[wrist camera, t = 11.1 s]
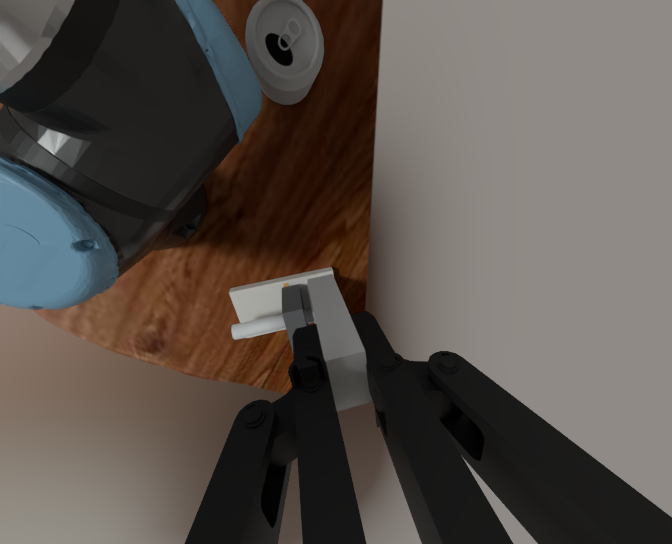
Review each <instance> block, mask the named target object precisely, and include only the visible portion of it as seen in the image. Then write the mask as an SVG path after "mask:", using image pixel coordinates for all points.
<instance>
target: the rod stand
mask: <svg viewBox="0 0 672 544" xmlns="http://www.w3.org/2000/svg"><path fill="white" fill-rule="evenodd" d="M329 274H333V270H332V267H329V268H324V269H319V270H314V271H310V272H305V273H300V274H296V275H291V276H286V277H281V278H277V279H272V280H267V281H263V282H258V283H253V284H248V285H244V286H239V287H234V288H230V291H229V294H230V297H231V299H232V302H233V305H234V307H235V310H236V313H237V315H238V318H239V321H240V323H239V324H235V325H232V328H231V331H232V336H233V338H234V340H236V339H241V338H245V337H246V338H250V337H254V336H259V335H263V334H267V333H271V332H276V331H280V330H284V329H286V326H285V322H284V319H283V315H282V288H283V287H288V286H293V285H297V284H299V287H300V291H301V296H302V300H303V304H304V315H305V319H306V323H308V324H310V323H314V322H315V324H316V319H315V315H314V310H313V305H312V301H311V296H310V291H309V287H308V282H307V279H311V278H315V277H320V276H325V275H329ZM333 277H334V274H333ZM336 284H337V283H336ZM339 291H340V290H339ZM342 298H343V297H342Z"/></svg>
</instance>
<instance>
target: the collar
mask: <svg viewBox="0 0 672 544" xmlns="http://www.w3.org/2000/svg"><path fill="white" fill-rule="evenodd" d="M282 315H283V319H284V322H285V326H286V330H287V333H288V337H289V340H290V344H291V347H292V351H293V340H292V336H293V334H294V332H295V330H296V328H300V327H305V326H308V323H306V319H305V315H304V304H303V300H302V296H301V291H300V287H299V284H297V285H293V286H288V287H283V288H282ZM293 353H294V352H293Z"/></svg>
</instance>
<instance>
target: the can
mask: <svg viewBox="0 0 672 544" xmlns="http://www.w3.org/2000/svg"><path fill="white" fill-rule="evenodd" d="M245 38H246V45H247V52H248V55H249V58H250V61H251V64H252V67H253V69H254V71H255V73H256V76H257V78H258V81H259V84H260V87H261V89H262V91H263V92H264V93H265V95H266V96H267V97H269V98H270V99H271V100H273V101H274V102H276V103H279V104H282V105H293V104H295V103H298V102H300V101H301V100H302V99H303V98H304V97H305V96H307V94H308V92H309V90H310V88H311V86H312V84H313V82H314V80H315V78H316V76H317V74H318V72H319V70H320V68H321V65H322V61H323V56H324V38H323V35H322V31H321V28H320V24H319V22H318V20H317V19H316V17H315V15H314V13H313V12H312V10H311V9H310V8H309V7H308V6H307V5H306V4H305V3H304V2H303V1H302V0H259V1H258V2H257V3H256V4H255V5H254V6H253V8H252V10H251V12H250V15H249V17H248V19H247V25H246V32H245Z"/></svg>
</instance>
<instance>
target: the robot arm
mask: <svg viewBox="0 0 672 544" xmlns="http://www.w3.org/2000/svg"><path fill="white" fill-rule="evenodd" d="M0 103H2V104H4V105H3V107H2V108H1V110H0V304H3V305H7V306H12V307H17V308H22V309H34V310H38V309H42V308H44V309H63V308H68V307H71V306H75V305H78V304H80V303H83V302H85V301H87V300H88V299H90V298H92V297H93V296H95V295H96V294H99V293H102V292H104V291H105V290H108V289H109V288H110V287H111V286H112V285H113V284H114V283H115V281H116V279H117V278H119V277H120V276H121V275H122V274H124V273H125V272H126V271H127V270H129V269H130V268H131V267H132V266H134V265H135V264H136V263H137V262H139V261H140V260H141V259H143V258H144V257H145V256H146V255H148V254H149V253H150V252H151V251H153V250H163V249H168V248H172V247H175V246H177V245H180V244H182V243H183V242H185V241H186V240H188V239H189V238H190V237H191V236H192V235H193V234H194V233H195V232H196V231H197V230H198V229H199V228H200V226H201V225H202V223H203V221H204V218H205V215H206V210H207V197H206V192H205V188H204V185H203V183H204V182H205V180H206V179H207V178H208V177H209V176H210V175H211V173H212V172H213V171H214V170H215V169H216V167H217V166H218V165H219V164H220V163H221V162H222V160H223V159H224V158H225V157H226V156H227V154H228V153H229V152H230V151H231V150H232V149H233V147H234V146H235V145H238V144H240V143H241V142H242V141H241V140H242V139H243V134H244V133H245V132H246V130H247V129H248V128H249V126H250V125H251V124H252V123H253V121H254V120H255V119H256V117H257V116H258V115H259V113H260V110H261V104H262V91H261V87H260V84H259V81H258V78H257V76H256V73H255V71H254V69H253V67H252V65H251V63H250V61H249V59H248V57H247V56H246V54H245V52H244V50H243V48H242V47H241V45H240V43H239V41H238V40H237V38H236V36H235V35H234V33H233V32H232V30H231V28H230V27H229V25H228V23H227V22H226V20H225V19H224V17H223V16H222V14H221V12H220V11H219V9H218V8H217V7H216V5H215V4H214V2H213V1H212V0H0ZM307 282H308V287H309V291H310V296H311V301H312V305H313V310H314V315H315V319H316V324H313V325H309V326H305V327H300V328H296V330H295V332H294V334H293V336H292V340H293V352H294V353H293V354H294V361H293V362H292V363H291V365H290V366H289V371H288V373H289V376H290V380H291V383H292V388H291V389H290V391H289V392H288V393H287V394H286V395H284V396H283V397H281V398H280V399H278V400H276V401H275V402H273V403H270V402H269V401H267V400H257V401H253V402H251V403H249V404H248V405H246V406H245V407H244V408H243V409H242V410H240V412H239V413H238V415H237V417H236V419H235V421H234V423H233V426H232V428H231V430H230V433H229V435H228V438H227V441H226V443H225V445H224V448H223V450H222V453H221V455H220V458H219V460H218V463H217V465H216V468H215V470H214V472H213V475H212V478H211V480H210V482H209V485H208V487H207V490H206V492H205V495H204V497H203V500H202V502H201V505H200V507H199V510H198V512H197V515H196V517H195V520H194V522H193V524H192V527H191V529H190V532H189V534H188V537H187V539H186V542H185V544H278V539H279V533H280V527H281V521H282V516H283V510H284V504H285V498H286V493H287V486H288V481H289V476H290V470H291V464H292V461H293V460H294V459H296V458H297V457H298V472H299V487H300V504H301V520H302V535H303V544H366V541H365V536H364V531H363V527H362V522H361V518H360V514H359V509H358V504H357V500H356V495H355V491H354V487H353V482H352V477H351V473H350V468H349V464H348V460H347V455H346V451H345V446H344V441H343V437H342V433H341V428H340V424H339V419H338V415H337V411H340V410H344V409H347V408H351V407H354V406H358V405H362V404H365V403H369V402H371V397H372V400H373V403H374V407H375V415H376V423H377V427H380V428H381V431H382V434H383V437H384V440H385V442H386V445H387V448H388V450H389V453H390V456H391V459H392V462H393V465H394V467H395V470H396V473H397V475H398V478H399V481H400V484H401V487H402V489H403V492H404V495H405V498H406V501H407V503H408V506H409V509H410V512H411V514H412V517H413V520H414V523H415V526H416V528H417V531H418V534H419V537H420V539H421V542H422V544H513V542H512V541H511V539H510V537H509V536H508V534H507V532H506V531H505V529H504V527H503V525H502V524H501V522H500V520H499V519H498V517H497V515H496V514H495V512H494V510H493V508H492V507H491V505H490V503H489V502H488V500H487V498H486V497H485V495H484V493H483V492H482V490H481V488H480V486H479V485H478V483H477V481H476V480H475V478H474V477H473V475H472V473H471V471H470V470H469V468H468V466H467V465H466V463H465V461H464V460H463V458H464V459H465V460H466V461H467V462H468V463H469V465H470V466H471V467H472V468H473V469H474V470H475V472H476V473H477V474H478V475H479V476H480V477H481V478H482V480H483V481H484V482H485V483H486V484H487V485H488V487H489V488H490V489H491V490H492V491H493V492H494V493H495V495H496V496H497V497H498V498H499V499H500V500H501V501H502V503H503V504H504V505H505V506H506V507H507V508H508V510H509V511H510V512H511V513H512V514H513V515H514V516H515V518H516V519H517V520H518V521H519V522H520V523H521V524H522V526H523V527H524V528H525V529H526V530H527V531H528V533H529V534H530V535H531V536H532V537H533V538H534V539H535V541H536V542H537V543H538V544H672V517H670V516H669V515H668V514H666V513H665V512H664V511H662V510H661V509H660V508H659V507H657V506H656V505H655V504H653V503H652V502H651V501H649V500H648V499H647V498H645V497H644V496H643V495H642V494H640V493H639V492H637V491H636V490H635V489H634V488H632V487H631V486H630V485H628V484H627V483H626V482H624V481H623V480H622V479H621V478H619V477H618V476H617V475H615V474H614V473H613V472H611V471H610V470H609V469H607V468H606V467H605V466H604V465H602V464H601V463H600V462H598V461H597V460H596V459H594V458H593V457H592V456H590V455H589V454H588V453H587V452H585V451H584V450H583V449H581V448H580V447H579V446H577V445H576V444H575V443H574V442H572V441H571V440H569V439H568V438H567V437H566V436H564V435H563V434H562V433H560V432H559V431H558V430H556V429H555V428H554V427H553V426H551V425H550V424H549V423H547V422H546V421H545V420H543V419H542V418H541V417H540V416H538V415H537V414H536V413H534V412H533V411H532V410H530V409H529V408H528V407H526V406H525V405H524V404H523V403H521V402H520V401H519V400H517V399H516V398H515V397H513V396H512V395H511V394H509V393H508V392H507V391H506V390H504V389H503V388H502V387H500V386H499V385H498V384H496V383H495V382H494V381H492V380H491V379H490V378H489V377H487V376H486V375H485V374H483V373H482V372H480V371H479V370H478V369H477V368H476V367H474V366H473V365H472V364H470V363H469V362H468V361H466V360H465V359H464V358H462V357H461V356H459V355H457V354H456V353H452V352H449V351H440V352H436V353H434V354H432V355H431V356H430V358H429V360H428V362H423V361H422V362H421V361H418V362H417V361H409V360H405V359H403V358H402V357H401V356H400V355H399V354H397V353H395V352H394V350H393V349H392V347H391V345H390V343H389V342H388V340H387V338H386V336H385V335H384V333H383V331H382V330H381V328H380V326H379V324H378V322H377V321H376V319H375V317H374V316H373V315H371V314H370V313H369V312H367V311H365V312H361V313H357V314H353V315H350V314H349V312H348V309H347V307H346V305H345V302H344V300H343V298H342V295H341V293H340V291H339V288H338V286H337V284H336V281H335V279H334V277H333V274H329V275H325V276H320V277H315V278H311V279H307ZM461 455H462V456H461ZM462 457H463V458H462Z"/></svg>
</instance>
